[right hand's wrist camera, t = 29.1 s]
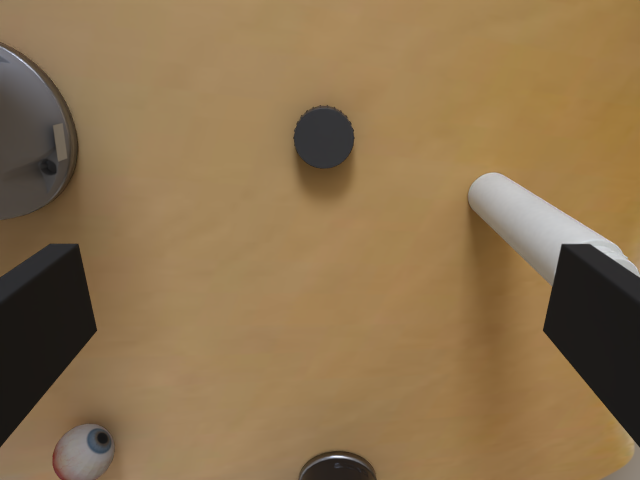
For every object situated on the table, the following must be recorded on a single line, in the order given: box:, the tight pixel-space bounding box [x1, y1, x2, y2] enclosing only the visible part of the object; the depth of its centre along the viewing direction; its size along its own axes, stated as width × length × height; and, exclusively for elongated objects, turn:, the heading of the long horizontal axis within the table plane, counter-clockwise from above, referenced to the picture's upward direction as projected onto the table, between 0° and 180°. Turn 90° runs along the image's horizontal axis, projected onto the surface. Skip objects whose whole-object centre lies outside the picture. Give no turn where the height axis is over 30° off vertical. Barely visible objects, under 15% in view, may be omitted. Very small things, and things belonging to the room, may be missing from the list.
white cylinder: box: [468, 173, 640, 286], centre depth 33 cm, size 4×4×18 cm
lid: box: [293, 105, 354, 168], centre depth 38 cm, size 5×5×2 cm
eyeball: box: [53, 424, 115, 480], centre depth 49 cm, size 6×6×6 cm
